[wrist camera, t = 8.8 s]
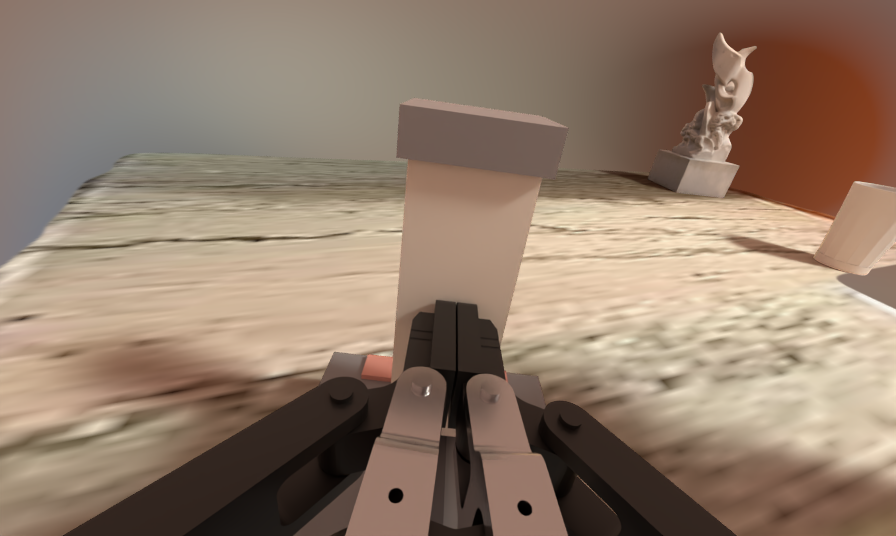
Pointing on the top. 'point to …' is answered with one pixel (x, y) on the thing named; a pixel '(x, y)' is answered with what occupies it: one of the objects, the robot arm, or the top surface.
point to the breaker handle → (467, 207)
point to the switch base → (444, 502)
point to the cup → (860, 229)
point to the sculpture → (709, 131)
